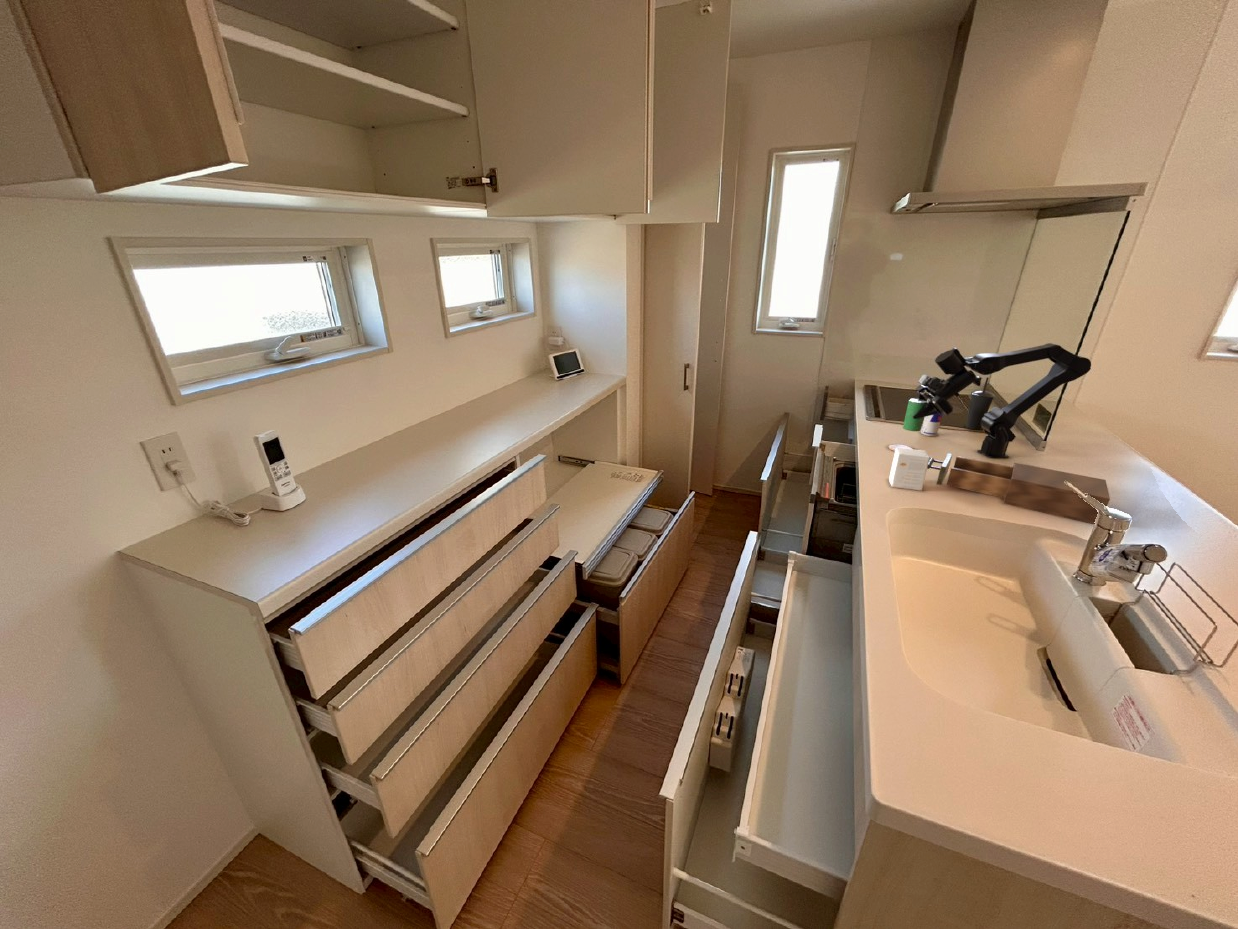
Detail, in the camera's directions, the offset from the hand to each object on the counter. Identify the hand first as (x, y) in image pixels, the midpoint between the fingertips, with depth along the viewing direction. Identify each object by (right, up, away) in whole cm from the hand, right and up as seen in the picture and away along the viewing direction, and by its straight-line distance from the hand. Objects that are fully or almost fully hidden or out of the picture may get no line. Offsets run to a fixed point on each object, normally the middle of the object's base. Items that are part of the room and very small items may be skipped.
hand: (910, 415), depth 168 cm
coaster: (-1, -11, +5) cm, 12 cm away
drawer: (+3, -22, -23) cm, 32 cm away
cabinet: (+18, -27, -34) cm, 47 cm away
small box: (-15, -23, -23) cm, 36 cm away
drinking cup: (+40, -2, +26) cm, 48 cm away
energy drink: (+19, -5, +20) cm, 28 cm away
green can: (+1, -4, +2) cm, 5 cm away
